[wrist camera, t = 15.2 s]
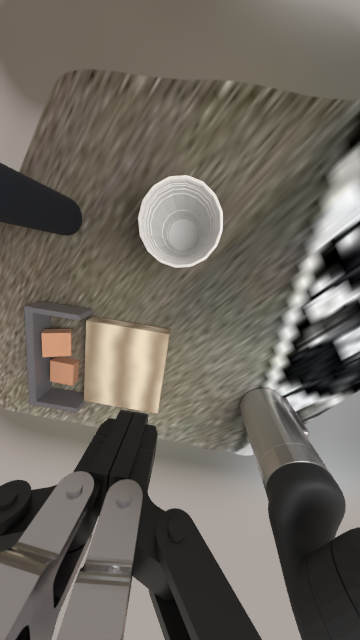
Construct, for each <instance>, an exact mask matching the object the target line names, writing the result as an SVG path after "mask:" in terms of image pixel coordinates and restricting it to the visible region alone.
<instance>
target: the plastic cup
mask: <svg viewBox="0 0 360 640" xmlns="http://www.w3.org/2000/svg"><path fill="white" fill-rule="evenodd" d="M138 223H139V232H140V237H141V239H142V241H143V243H144V245H145V247H146V249H147V251H148V252H149V253H150V254H151V255H153V256H154V257H155V258H156V259H157V260H158V261H159V262H160V263H163V264H166V265H169V266H172V267H175V268H179V267H192V266H194V265H196V264H198V263H200V262H202V261H203V260H205V259H206V258H207V257H208V256H209V255H210V254H211V253H212V252H213V250H214V249H215V248H216V247H217V245H218V242H219V239H220V237H221V234H222V231H223V211H222V209H221V206H220V204H219V201H218V199H217V196H216V194H215V193H214V192H213V191H212V190H211V189H210V188H209V187H208V186H207V185H206V184H205V183H204V182H203V181H200V180H198V179H195V178H193V177H190V176H188V175H183V176H169V177H167V178H166V179H164V180H162V181H160V182H158V183H157V184H155V185H153V187H152V188H151V189H150V191H149V192H148V193H147V195H146V196H145V197H144V199H143V200H142V204H141V208H140V212H139V216H138Z"/></svg>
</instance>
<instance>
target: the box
mask: <svg viewBox="0 0 360 640" xmlns="http://www.w3.org/2000/svg"><path fill="white" fill-rule="evenodd" d="M24 312H25V331H26V351H27V370H28V390H29V404H30V405H36V406H42V407H47V408H53V409H59V410H65V411H70V412H76V413H77V412H78V411H79V410H80V409H81V407H82V406H83V405H84V403H85V402H86V401H84V393H80V392H75V391H69V390H63V389H57V388H52V382H51V381H50V360H51V357H42V337H41V333H42V331H43V329H51V316H55V317H61V318H67V319H73V320H79V321H80V320H82V319H83V318H85V317H87V316H89V315H91V314H92V309H87V308H81V307H75V306H69V305H63V304H57V303H51V302H45V301H42V302H38V303H35V304H31V305H27V306H24Z"/></svg>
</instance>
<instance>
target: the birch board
mask: <svg viewBox="0 0 360 640" xmlns="http://www.w3.org/2000/svg"><path fill="white" fill-rule="evenodd" d="M170 332H171V329H165V328H159V327H153V326H147V325H141V324H135V323H129V322H123V321H117V320H111V319H105V318H99V317H92V318H90V319H88V320H86V346H85V378H84V401H88V402H94V403H100V404H106V405H111V406H117V407H123V408H129V409H134V410H140V411H146V412H152V413H157V414H158V410H159V406H160V400H161V393H162V386H163V379H164V372H165V366H166V359H167V352H168V345H169V339H170Z"/></svg>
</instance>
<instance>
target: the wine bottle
mask: <svg viewBox="0 0 360 640" xmlns="http://www.w3.org/2000/svg"><path fill="white" fill-rule="evenodd" d="M0 222H3V223H8V224H13V225H18V226H23V227H27V228H32V229H37V230H42V231H47V232H51V233H56V234H61V235H72V234H74V233H75V232H77V231H78V230H79V228H80V226H81V223H82V214H81V211H80V208H79V207H78V205H77V204H76V203H75V202H74V201H73V200H72V199H70V198H68V197H66V196H64V195H62V194H60V193H58V192H56V191H54V190H52V189H50V188H49V187H47V186H45V185H43V184H41V183H39V182H37V181H35V180H33V179H31V178H29V177H27V176H25V175H23V174H21V173H19V172H17V171H15V170H13V169H11V168H9V167H8V166H6V165H4V164H2V163H0Z"/></svg>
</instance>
